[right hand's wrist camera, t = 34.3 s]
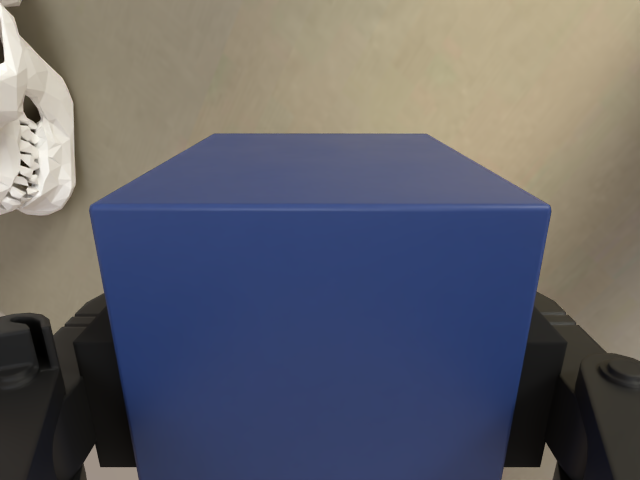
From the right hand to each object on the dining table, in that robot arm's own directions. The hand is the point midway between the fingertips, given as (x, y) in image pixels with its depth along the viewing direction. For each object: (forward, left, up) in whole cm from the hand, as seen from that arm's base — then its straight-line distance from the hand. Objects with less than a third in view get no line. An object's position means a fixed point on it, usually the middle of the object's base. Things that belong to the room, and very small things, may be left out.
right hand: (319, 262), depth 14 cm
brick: (0, 0, -1) cm, 1 cm away
